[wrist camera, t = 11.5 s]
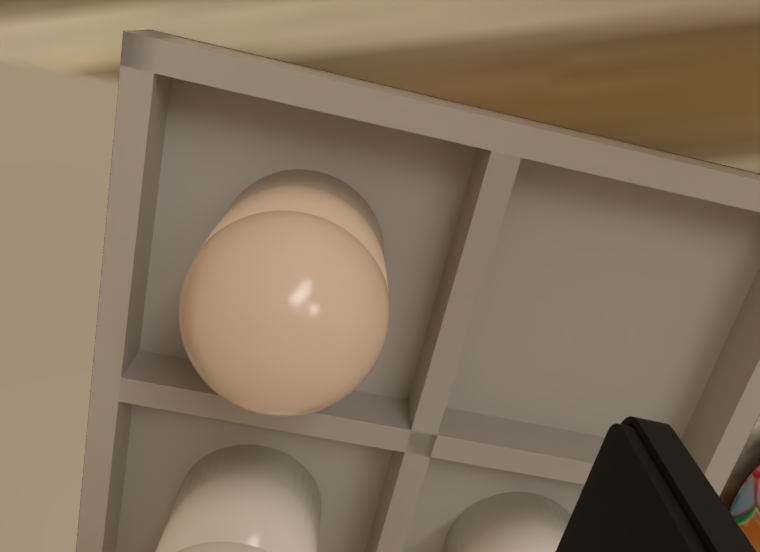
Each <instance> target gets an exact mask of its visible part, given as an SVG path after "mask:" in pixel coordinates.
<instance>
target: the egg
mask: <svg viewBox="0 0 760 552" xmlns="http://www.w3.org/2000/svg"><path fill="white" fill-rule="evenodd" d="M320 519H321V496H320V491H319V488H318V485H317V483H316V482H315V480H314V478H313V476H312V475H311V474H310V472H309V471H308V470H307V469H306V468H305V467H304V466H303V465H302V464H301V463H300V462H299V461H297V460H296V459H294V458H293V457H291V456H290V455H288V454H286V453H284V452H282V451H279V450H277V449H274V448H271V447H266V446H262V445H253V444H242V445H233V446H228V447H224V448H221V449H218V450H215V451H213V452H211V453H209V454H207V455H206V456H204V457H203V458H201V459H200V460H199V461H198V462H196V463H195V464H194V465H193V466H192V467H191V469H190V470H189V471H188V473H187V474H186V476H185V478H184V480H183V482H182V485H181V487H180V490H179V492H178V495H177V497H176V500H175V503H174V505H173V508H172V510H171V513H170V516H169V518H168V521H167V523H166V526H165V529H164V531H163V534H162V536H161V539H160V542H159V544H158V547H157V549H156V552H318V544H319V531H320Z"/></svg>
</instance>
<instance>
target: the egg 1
mask: <svg viewBox="0 0 760 552" xmlns="http://www.w3.org/2000/svg"><path fill="white" fill-rule="evenodd" d="M178 317H179V328H180V332H181V336H182V341H183V345H184V347H185V350H186V353H187V355H188V357H189V359H190V361H191V363H192V365H193V366H194V368H195V369H196V371H197V372H198V374H199V375H200V376H201V378H202V379H203V380H204V381H205V382H206V383H207V385H208V386H209V387H210V388H211V389H212V390H214V391H215V392H216V393H217V394H218V395H220V396H221V397H222V398H224V399H226V400H227V401H229V402H230V403H232V404H234V405H236V406H238V407H240V408H242V409H245V410H248V411H251V412H254V413H258V414H262V415H268V416H276V417H291V416H300V415H305V414H310V413H314V412H316V411H319V410H322V409H325V408H327V407H329V406H331V405H333V404H335V403H337V402H338V401H340V400H341V399H343V398H345V397H346V396H348V395H349V394H350V393H351V392H352V391H354V390H355V389H356V388H357V387H358V386H359V385H360V384H361V383H362V382H363V381H364V379H365V378H366V377H367V376H368V375H369V373H370V372H371V370H372V369H373V367H374V366H375V365H376V363H377V361H378V359H379V357H380V355H381V352H382V350H383V347H384V344H385V341H386V338H387V334H388V329H389V320H390V301H389V291H388V282H387V273H386V264H385V255H384V246H383V237H382V233H381V229H380V225H379V223H378V220H377V218H376V216H375V214H374V212H373V211H372V209H371V207H370V206H369V205H368V203H367V202H366V201H365V199H364V198H363V197H362V196H361V195H360V194H359V193H358V192H357V191H356V190H354V189H353V188H352V187H351V186H349V185H348V184H346V183H345V182H343V181H341V180H340V179H338V178H335V177H333V176H331V175H328V174H325V173H322V172H318V171H312V170H302V169H294V170H284V171H280V172H276V173H272V174H270V175H267V176H264V177H262V178H260V179H259V180H257V181H255V182H253V183H252V184H251V185H249V186H248V187H247V188H245V189H244V190H243V191H242V192H241V193H240V194H239V195H238V196H237V197H236V199H235V200H234V201H233V203H232V204H231V205H230V207H229V208H228V209H227V211H226V212H225V214H224V215H223V217H222V218H221V219H220V221H219V222H218V224H217V225H216V227H215V228H214V229H213V231H212V232H211V234H210V235H209V237H208V238H207V239H206V241H205V242H204V244H203V245H202V246H201V248H200V249H199V251H198V252H197V254H196V255H195V257H194V259H193V261H192V262H191V264H190V266H189V268H188V270H187V272H186V275H185V278H184V281H183V283H182V288H181V292H180V298H179V311H178Z"/></svg>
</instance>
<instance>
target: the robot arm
mask: <svg viewBox="0 0 760 552" xmlns="http://www.w3.org/2000/svg"><path fill="white" fill-rule="evenodd" d="M556 552H756V550H755V549H754V547H753V546H752V544H751V543H750V541H749V540H748V539H747V537H746V536H745V534H744V533H743V531H742V530H741V528H740V527H739V525H738V524H737V522H736V521H735V519H734V518H733V516H732V515H731V513H730V512H729V511H728V509H727V508H726V506H725V505H724V503H723V502H722V500H721V499H720V497H719V496H718V494H717V493H716V491H715V490H714V488H713V487H712V485H711V484H710V483H709V481H708V480H707V478H706V477H705V475H704V474H703V472H702V471H701V469H700V468H699V466H698V465H697V463H696V462H695V460H694V459H693V457H692V456H691V455H690V453H689V452H688V450H687V449H686V447H685V446H684V444H683V443H682V441H681V440H680V438H679V437H678V435H677V434H676V432H675V431H674V429H673V428H672V427H671V426H670V425H669V424H666V423H662V422H657V421H652V420H647V419H642V418H637V417H632V416H629V417H627V418H625V419H624V420H623V421H622V422H621V424H618V423H615V424H613V425H612V426H611V427H610V428H609V430H608V432H607V434H606V436H605V438H604V441H603V443H602V445H601V448H600V450H599V452H598V455H597V457H596V459H595V462H594V464H593V466H592V469H591V471H590V473H589V475H588V478H587V480H586V482H585V485H584V487H583V489H582V492H581V494H580V496H579V499H578V501H577V503H576V506H575V508H574V510H573V513H572V515H571V517H570V520H569V522H568V524H567V526H566V529H565V531H564V533H563V536H562V538H561V540H560V543H559V545H558V547H557V550H556Z"/></svg>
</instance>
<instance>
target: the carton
mask: <svg viewBox="0 0 760 552" xmlns="http://www.w3.org/2000/svg"><path fill="white" fill-rule="evenodd" d="M294 169H302V170H312V171H318V172H322V173H325V174H328V175H331V176H333V177H335V178H338V179H340V180H341V181H343V182H345V183H346V184H348V185H349V186H351V187H352V188H353V189H354V190H356V191H357V192H358V193H359V194H360V195H361V196H362V197H363V198H364V199H365V201H366V202H367V203H368V205H369V206H370V207H371V209H372V211H373V212H374V214H375V216H376V218H377V220H378V223H379V225H380V229H381V233H382V237H383V246H384V255H385V264H386V273H387V282H388V291H389V301H390V320H389V329H388V334H387V338H386V341H385V344H384V347H383V350H382V352H381V355H380V357H379V359H378V361H377V363H376V365H375V366H374V367H373V369H372V370H371V372H370V373H369V375H368V376H367V377H366V378H365V379H364V381H363V382H362V383H361V384H360V385H359V386H358V387H357V388H356V389H355V390H354V391H352V392H351V393H350V394H349V395H348V396H346V397H345V398H343V399H341V400H340V401H338V402H337V403H335V404H333V405H331V406H329V407H327V408H325V409H322V410H319V411H316V412H314V413H310V414H305V415H300V416H291V417H276V416H268V415H262V414H258V413H254V412H251V411H248V410H245V409H242V408H240V407H238V406H236V405H234V404H232V403H230V402H229V401H227V400H226V399H224V398H222V397H221V396H220V395H218V394H217V393H216V392H215V391H214V390H212V389H211V388H210V387H209V386H208V385H207V383H206V382H205V381H204V380H203V379H202V378H201V376H200V375H199V374H198V372H197V371H196V369H195V368H194V366H193V365H192V363H191V361H190V359H189V357H188V355H187V353H186V350H185V347H184V345H183V341H182V336H181V332H180V328H179V317H178V311H179V298H180V292H181V288H182V283H183V281H184V278H185V275H186V272H187V270H188V268H189V266H190V264H191V262H192V261H193V259H194V257H195V255H196V254H197V252H198V251H199V249H200V248H201V246H202V245H203V244H204V242H205V241H206V239H207V238H208V237H209V235H210V234H211V232H212V231H213V229H214V228H215V227H216V225H217V224H218V222H219V221H220V219H221V218H222V217H223V215H224V214H225V212H226V211H227V209H228V208H229V207H230V205H231V204H232V203H233V201H234V200H235V199H236V197H237V196H238V195H239V194H240V193H241V192H242V191H243V190H244V189H245V188H247V187H248V186H249V185H251V184H252V183H253V182H255V181H257V180H259V179H260V178H262V177H264V176H267V175H270V174H272V173H276V172H280V171H284V170H294ZM102 261H103V262H102V271H101V282H100V294H99V304H98V315H97V326H96V337H95V348H94V359H93V370H92V381H91V391H90V402H89V413H88V424H87V435H86V446H85V458H84V468H83V479H82V490H81V501H80V512H79V523H78V533H77V544H76V552H156V549H157V547H158V544H159V542H160V539H161V536H162V534H163V531H164V529H165V526H166V523H167V521H168V518H169V516H170V513H171V510H172V508H173V505H174V503H175V500H176V497H177V495H178V492H179V490H180V487H181V485H182V482H183V480H184V478H185V476H186V474H187V473H188V471H189V470H190V469H191V467H192V466H193V465H194V464H195V463H196V462H198V461H199V460H200V459H201V458H203V457H204V456H206V455H207V454H209V453H211V452H213V451H215V450H218V449H221V448H224V447H228V446H233V445H242V444H253V445H262V446H266V447H271V448H274V449H277V450H279V451H282V452H284V453H286V454H288V455H290V456H291V457H293V458H294V459H296V460H297V461H299V462H300V463H301V464H302V465H303V466H304V467H305V468H306V469H307V470H308V471H309V472H310V474H311V475H312V476H313V478H314V480H315V482H316V483H317V485H318V488H319V491H320V496H321V519H320V531H319V544H318V552H444V546H445V540H446V536H447V534H448V532H449V529H450V528H451V526H452V524H453V523H454V521H455V520H456V519H457V518H458V516H460V515H461V514H462V513H463V512H464V511H465V510H466V509H467V508H469V507H470V506H471V505H473V504H475V503H477V502H478V501H480V500H483V499H485V498H487V497H490V496H493V495H496V494H501V493H507V492H529V493H535V494H539V495H543V496H545V497H548V498H550V499H552V500H554V501H556V502H557V503H559V504H560V505H562V506H563V507H564V508H565V509H566V510H567V511H568V512H569V513H570V515H572V513H573V510H574V508H575V506H576V503H577V501H578V499H579V496H580V494H581V492H582V489H583V487H584V485H585V482H586V480H587V478H588V475H589V473H590V471H591V469H592V466H593V464H594V462H595V459H596V457H597V455H598V452H599V450H600V448H601V445H602V443H603V441H604V438H605V436H606V434H607V432H608V430H609V428H610V427H611V426H612V425H613V424H615V423H618V424H621V422H622V421H623V420H624V419H625V418H627V417H629V416H632V417H637V418H642V419H647V420H652V421H657V422H662V423H666V424H669V425H670V426H671V427H672V428H673V429H674V431H675V432H676V434H677V435H678V437H679V438H680V440H681V441H682V443H683V444H684V446H685V447H686V449H687V450H688V452H689V453H690V455H691V456H692V457H693V459H694V460H695V462H696V463H697V465H698V466H699V468H700V469H701V471H702V472H703V474H704V475H705V477H706V478H707V480H708V481H709V483H710V484H711V485H712V487H713V488H714V490H715V491H716V493H717V494H718V496H720V494H721V492H722V490H723V488H724V486H725V484H726V482H727V480H728V478H729V476H730V474H731V472H732V470H733V468H734V466H735V464H736V462H737V460H738V458H739V456H740V454H741V452H742V450H743V448H744V446H745V444H746V442H747V440H748V438H749V436H750V434H751V432H752V430H753V428H754V425H755V423H756V421H757V419H758V417H759V415H760V174H758V173H754V172H750V171H745V170H741V169H737V168H733V167H728V166H724V165H720V164H716V163H712V162H707V161H703V160H699V159H695V158H690V157H686V156H682V155H678V154H673V153H669V152H665V151H661V150H657V149H652V148H648V147H644V146H640V145H635V144H631V143H627V142H623V141H619V140H614V139H610V138H606V137H602V136H597V135H593V134H589V133H585V132H580V131H576V130H572V129H568V128H564V127H559V126H555V125H551V124H547V123H542V122H538V121H534V120H530V119H525V118H521V117H517V116H513V115H509V114H504V113H500V112H496V111H492V110H487V109H483V108H479V107H475V106H470V105H466V104H462V103H458V102H454V101H449V100H445V99H441V98H437V97H432V96H428V95H424V94H420V93H416V92H411V91H407V90H403V89H399V88H394V87H390V86H386V85H382V84H377V83H373V82H369V81H365V80H361V79H356V78H352V77H348V76H344V75H339V74H335V73H331V72H327V71H322V70H318V69H314V68H310V67H306V66H301V65H297V64H293V63H289V62H284V61H280V60H276V59H272V58H267V57H263V56H259V55H255V54H251V53H246V52H242V51H238V50H234V49H229V48H225V47H221V46H217V45H213V44H208V43H204V42H200V41H196V40H191V39H187V38H183V37H179V36H174V35H170V34H166V33H162V32H158V31H153V30H135V31H123V42H122V53H121V64H120V75H119V86H118V97H117V108H116V118H115V129H114V141H113V151H112V162H111V173H110V184H109V195H108V206H107V217H106V228H105V239H104V249H103V260H102Z"/></svg>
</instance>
